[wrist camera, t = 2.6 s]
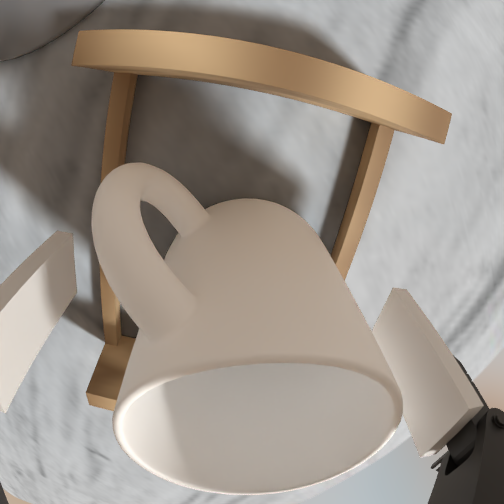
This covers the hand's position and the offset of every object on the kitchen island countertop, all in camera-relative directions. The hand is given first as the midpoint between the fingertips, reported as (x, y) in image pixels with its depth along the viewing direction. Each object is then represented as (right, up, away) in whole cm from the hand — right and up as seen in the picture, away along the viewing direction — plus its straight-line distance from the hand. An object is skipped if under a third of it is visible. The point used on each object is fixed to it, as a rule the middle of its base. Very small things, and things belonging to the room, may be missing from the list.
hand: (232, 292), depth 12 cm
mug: (-1, +2, +4) cm, 5 cm away
